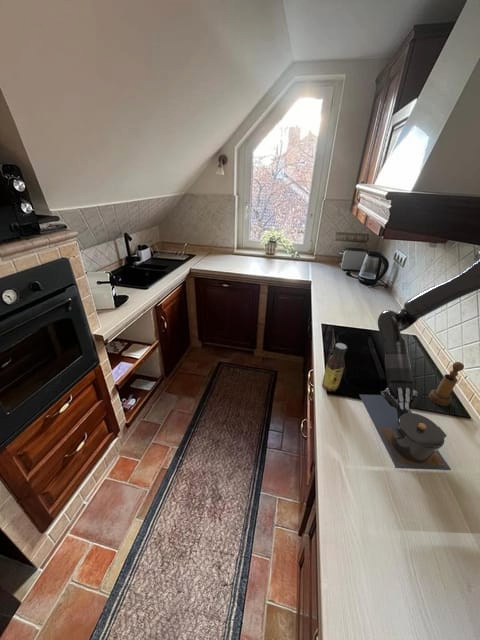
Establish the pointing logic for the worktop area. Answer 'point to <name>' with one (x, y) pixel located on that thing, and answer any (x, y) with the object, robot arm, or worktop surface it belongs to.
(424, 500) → the worktop surface
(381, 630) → the worktop surface
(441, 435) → the pot
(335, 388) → the sauce bottle
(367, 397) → the mat
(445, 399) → the wooden pepper mill
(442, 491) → the worktop surface
